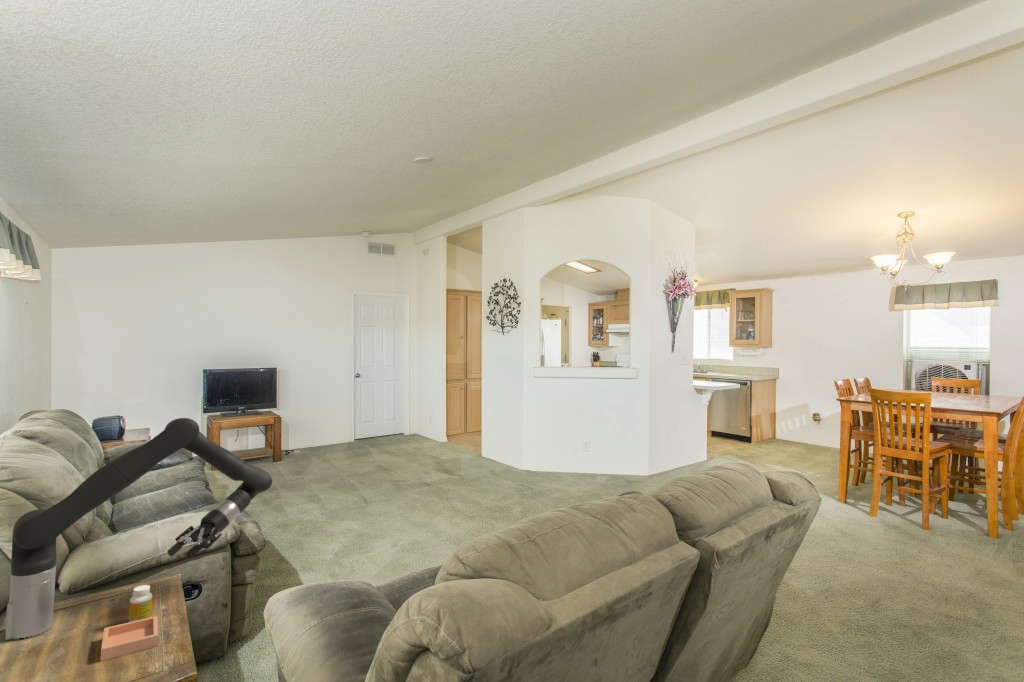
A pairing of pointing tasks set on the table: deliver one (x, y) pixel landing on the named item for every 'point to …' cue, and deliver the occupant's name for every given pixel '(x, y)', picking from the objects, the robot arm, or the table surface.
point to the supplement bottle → (140, 603)
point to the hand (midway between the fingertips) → (178, 555)
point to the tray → (129, 638)
